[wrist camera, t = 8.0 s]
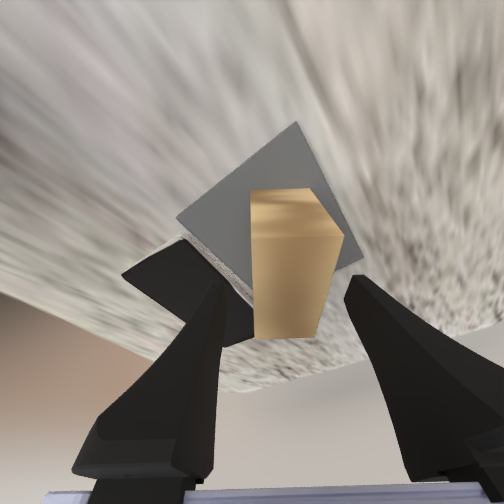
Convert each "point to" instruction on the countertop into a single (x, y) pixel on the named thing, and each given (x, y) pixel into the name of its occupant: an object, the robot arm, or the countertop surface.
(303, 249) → the oak slab
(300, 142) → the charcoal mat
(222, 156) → the countertop surface
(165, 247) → the smartphone
